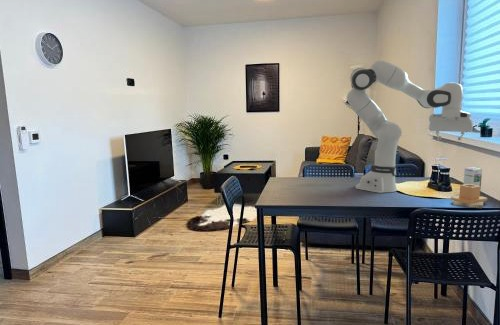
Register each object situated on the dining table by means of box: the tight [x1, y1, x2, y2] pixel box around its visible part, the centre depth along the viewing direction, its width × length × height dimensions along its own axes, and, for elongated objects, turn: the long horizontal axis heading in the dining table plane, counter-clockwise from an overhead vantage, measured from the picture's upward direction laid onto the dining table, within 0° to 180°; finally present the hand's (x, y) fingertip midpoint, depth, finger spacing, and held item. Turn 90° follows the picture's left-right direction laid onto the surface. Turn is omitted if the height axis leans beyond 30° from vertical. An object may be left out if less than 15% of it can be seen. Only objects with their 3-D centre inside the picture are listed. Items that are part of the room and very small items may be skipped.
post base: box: [452, 193, 485, 209], centre depth 172 cm, size 12×18×2 cm, turn 144°
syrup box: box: [462, 167, 483, 191], centre depth 184 cm, size 6×6×14 cm
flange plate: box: [450, 183, 489, 204], centre depth 170 cm, size 14×9×7 cm, turn 115°
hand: (449, 140), depth 185 cm, fingers open, 8 cm apart
